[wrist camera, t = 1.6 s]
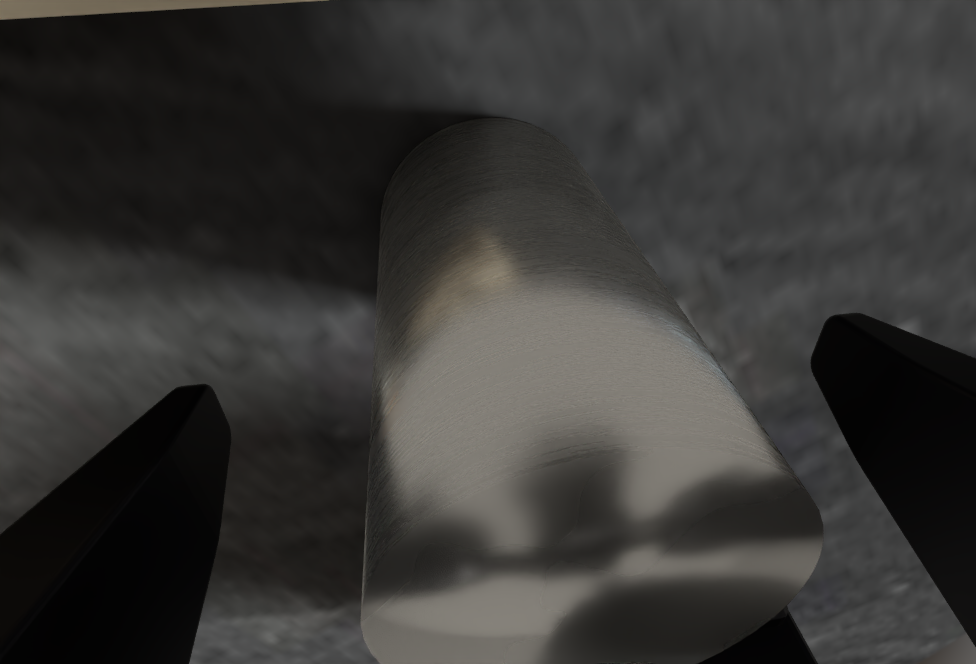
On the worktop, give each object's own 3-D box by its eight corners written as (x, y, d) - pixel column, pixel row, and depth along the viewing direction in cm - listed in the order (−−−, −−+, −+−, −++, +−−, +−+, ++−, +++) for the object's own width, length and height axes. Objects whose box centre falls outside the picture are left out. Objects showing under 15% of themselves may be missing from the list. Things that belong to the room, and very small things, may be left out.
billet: (585, 303, 13) (756, 669, 7) (395, 323, 13) (395, 726, 7) (601, 109, 11) (901, 416, 4) (363, 127, 10) (311, 491, 4)
